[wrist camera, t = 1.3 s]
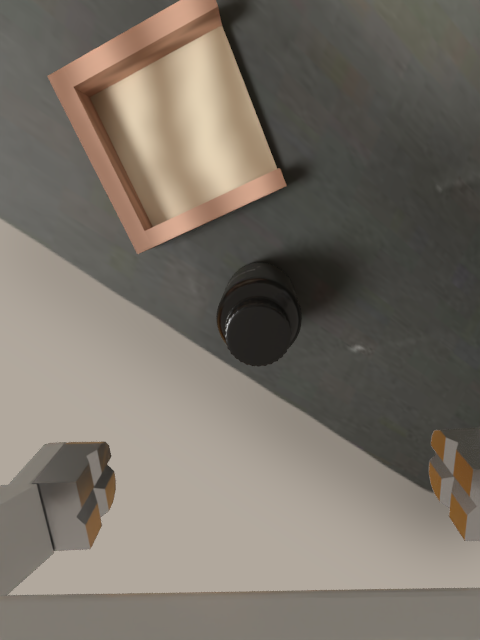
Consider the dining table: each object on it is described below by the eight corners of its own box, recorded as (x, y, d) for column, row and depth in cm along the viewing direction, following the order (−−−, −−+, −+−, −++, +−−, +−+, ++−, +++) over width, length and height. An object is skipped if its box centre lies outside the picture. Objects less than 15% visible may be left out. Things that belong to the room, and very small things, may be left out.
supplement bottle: (240, 250, 37) (232, 271, 25) (305, 277, 37) (325, 309, 26) (215, 313, 39) (196, 358, 27) (276, 338, 39) (283, 393, 28)
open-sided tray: (215, 10, 31) (209, -17, 27) (283, 187, 35) (286, 185, 31) (71, 90, 33) (47, 76, 30) (150, 248, 37) (137, 254, 33)
